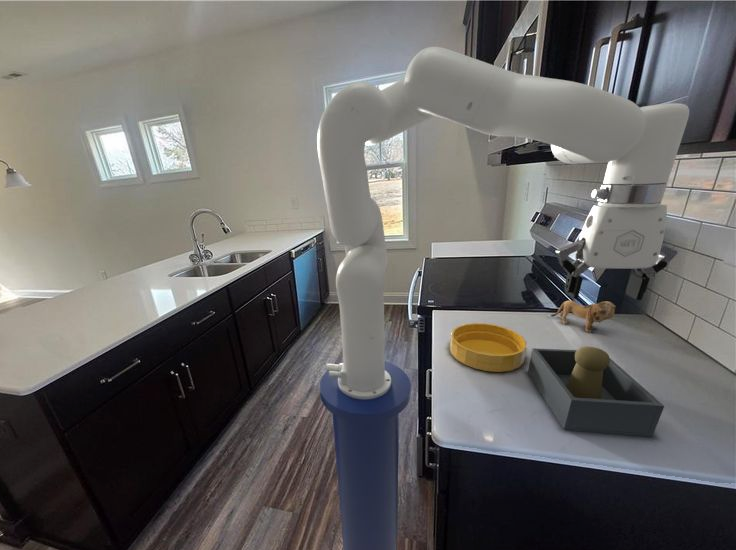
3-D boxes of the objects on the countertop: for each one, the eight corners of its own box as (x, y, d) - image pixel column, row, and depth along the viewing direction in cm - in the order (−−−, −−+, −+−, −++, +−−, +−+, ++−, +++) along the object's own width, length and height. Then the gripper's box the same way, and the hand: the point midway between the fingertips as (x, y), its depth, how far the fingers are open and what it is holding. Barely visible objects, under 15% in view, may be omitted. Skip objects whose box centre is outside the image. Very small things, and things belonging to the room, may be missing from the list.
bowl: (455, 370, 76) (457, 354, 74) (446, 336, 91) (447, 322, 90) (534, 374, 72) (538, 357, 71) (510, 338, 88) (513, 323, 86)
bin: (563, 429, 57) (571, 400, 54) (527, 373, 73) (532, 348, 70) (652, 437, 54) (664, 406, 52) (594, 376, 70) (601, 350, 68)
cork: (572, 407, 61) (585, 358, 57) (556, 387, 67) (567, 342, 63) (607, 408, 60) (623, 359, 56) (588, 388, 66) (601, 342, 62)
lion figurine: (611, 331, 88) (620, 301, 85) (604, 337, 86) (613, 306, 82) (553, 315, 100) (559, 288, 96) (545, 320, 97) (551, 292, 94)
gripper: (580, 199, 48) (556, 303, 55) (717, 195, 45) (675, 306, 51) (558, 196, 55) (539, 288, 61) (676, 192, 52) (643, 290, 58)
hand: (601, 296), depth 56 cm, fingers open, 9 cm apart
